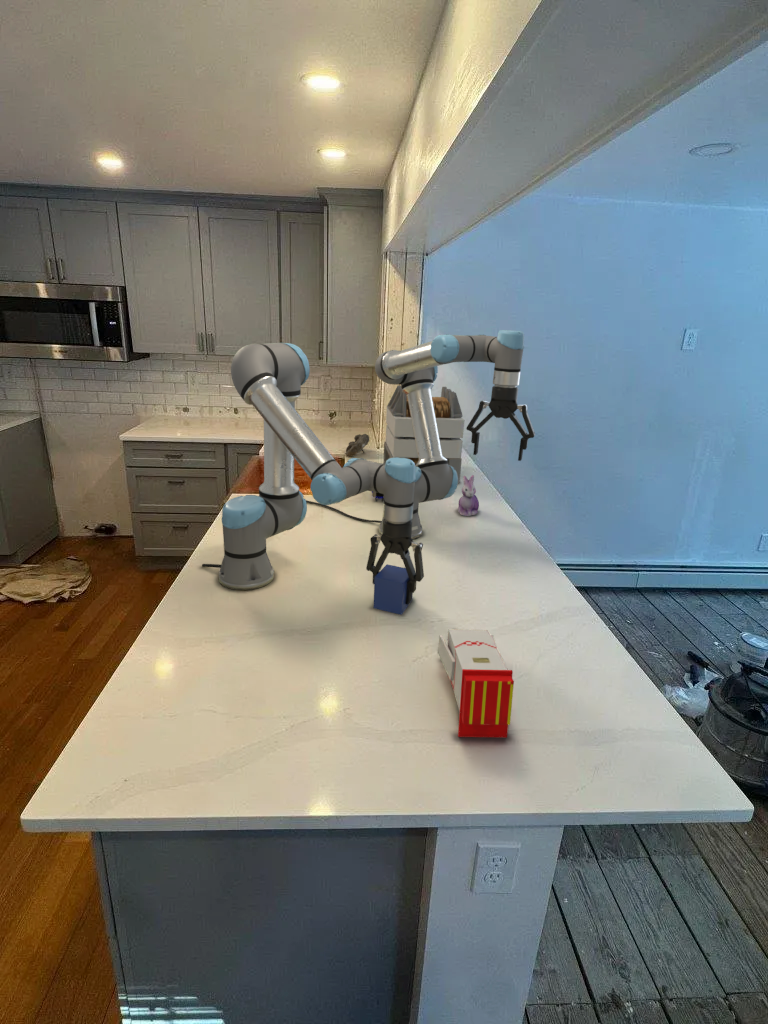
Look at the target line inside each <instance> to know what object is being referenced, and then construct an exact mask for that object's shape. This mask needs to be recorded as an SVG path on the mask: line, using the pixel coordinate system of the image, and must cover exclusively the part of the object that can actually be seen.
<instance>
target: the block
mask: <svg viewBox="0 0 768 1024" xmlns="http://www.w3.org/2000/svg"><path fill="white" fill-rule="evenodd" d="M408 580H409V577H408V574H407V571H406V568H405V567H402V566H397V565H391V564H388V563H386V564H385V565H384V566H383V567H382V568H381V569H380V570H379V573H378V574H377V575H376V576H375V580H374V584H373V585H374V586H373V604H372V605H373V607H372V608H373V609H375V610H379V611H383V612H388V613H392V614H396V615H401V616H402V615H403V614H404V612H405V611H406V609H407V608H408V607H409V605H410V604H411V603H412V602H413V599H412V600H411V602H410V603H409V605H407V604H406V591H407V581H408ZM413 595H414V593H412V598H413Z"/></svg>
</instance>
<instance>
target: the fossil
mask: <svg viewBox="0 0 768 1024" xmlns="http://www.w3.org/2000/svg"><path fill="white" fill-rule="evenodd" d="M369 443H370V436H369V434H367V433H363V434H361V433H360V434H356V435H355V436H354V441H349V442H348V445H347V447H346V449H345V455H346V457H348V458H352V457H354V456H356V455H357V454H359V453H361V452H362V454H365V451H364V448H365V447H366V446H368V444H369Z"/></svg>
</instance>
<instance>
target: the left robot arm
mask: <svg viewBox="0 0 768 1024" xmlns="http://www.w3.org/2000/svg"><path fill="white" fill-rule="evenodd" d="M310 371H311V370H310V362H309V359H308V357H307V355H306V353H304V351H303V349H301V347H299V346H298V345H297V344H294V343H288V342H270V343H269V342H267V343H250V344H247V345H244V346H243V347H242V346H241V348H240V349H238V350H237V351H236V353H235V354H234V355H233V358H232V360H231V365H230V377H231V380H232V383H233V386H234V388H235V390H236V392H237V393H238V395H239V397H240V398H241V399H242V400H243V401H244V403H245V404H246V405H249V406H250V405H251V406H253V408H254V409H255V410H256V411H257V412H258V414H259V415H260V417H262V419H263V477H264V478H263V483H261V484H260V485H259V486H258V495H255V494H246V495H239V496H236V497H233V498H231V499H229V500H228V501H226V502H225V503H224V504H223V506H222V511H221V513H222V514H221V524H222V538H223V539H222V540H223V557H222V561H221V564H218V563H217V564H216V563H202V564H201V567H202V568H218V569H219V571H218V581H219V583H220V584H221V585H222V586H223V587H224V588H228V589H231V590H236V591H237V590H238V591H249V590H255V589H259V588H263V587H265V586H267V585H269V584H270V583H271V582H272V581H273V580H274V577H275V573H274V572H275V570H274V567H273V566H272V563H271V560H270V557H269V554H268V552H267V539H269V538H271V537H274V536H276V535H278V534H281V533H284V532H286V531H290V530H293V529H294V528H295V527H297V526H300V524H301V523H303V521H304V520H305V519H306V516H307V512H308V505H307V504H308V503H307V502H306V500H307V499H306V498H304V497H305V496H304V494H303V493H302V492H301V491H300V486H299V485H297V484H296V482H295V461H296V462H297V464H299V466H300V467H301V468H302V469H303V471H304V472H305V474H306V475H307V476H308V477H309V478H310V480H311V483H310V492H311V493H312V495H311V496H312V497H313V499H314V500H315V502H316V503H320V504H322V505H327V506H330V505H335V504H338V503H339V504H340V503H341V502H343V501H344V500H347V499H349V498H352V497H355V496H357V495H359V494H362V493H365V492H371V493H372V492H376V493H381V494H384V497H383V498H384V501H383V507H382V508H383V509H382V519H383V518H384V519H383V529H382V532H383V533H382V535H378V533H377V534H376V533H375V534H373V535H372V536H371V537H370V550H369V554H368V558H367V563H366V571H368V572H371V573H372V584H373V585H374V580H375V576H376V575H377V574H378V573H379V572H380V571H381V570H382V568H383V565H384V563H385V561H386V559H387V558H388V556H389V554H395V555H397V556H400V559H401V560H402V563H403V566H404V568H406V571H407V574H408V577H409V580H408V581H407V591H406V604H407V605H408V606H409V605H410V604H411V603H412V601H413V597H412V593H413V594H414V593H415V592H416V590H417V582H419V583H420V582H421V581H423V579H424V577H425V573H424V562H423V552H422V550H423V546H424V544H423V543H422V542H419V543H418V542H416V541H414V539H412V538H411V534H412V517H413V501H414V500H413V498H414V486H415V480H416V477H415V463H414V462H413V461H412V460H410V459H407V458H390V459H388V460H387V461H386V463H385V464H383V463H381V462H377V461H373V460H368V459H366V458H359V457H358V458H357V457H350V458H349V459H347V461H346V462H345V463H344V465H343V466H341V465H340V464H339V463H338V461H337V460H336V459H335V458H334V456H333V455H332V454H331V452H330V451H329V450H328V449H327V448H326V446H325V445H324V443H322V442H321V440H320V439H319V437H318V436H317V435H316V434H315V433H314V431H313V430H312V429H311V428H310V426H309V425H308V424H307V423H306V421H305V420H304V419H303V418H302V417H301V415H300V414H299V413H298V412H297V410H296V401H297V399H298V398H300V397H301V391H302V389H301V388H302V386H303V385H304V384H305V383H306V382H307V380H308V379H309V378H310V377H309V376H310ZM380 543H381V544H382V545H383V546H384V548H383V550H382V552H381V555H380V557H379V559H378V560H377V562H376V559H377V554H378V549H379V545H380ZM410 547H411V548H412V552H413V559H414V564H413V559H412V558H411V555H410V554H411V553H410ZM375 563H376V564H375ZM411 600H412V601H411ZM410 602H411V603H410ZM409 603H410V604H409Z"/></svg>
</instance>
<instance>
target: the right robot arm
mask: <svg viewBox="0 0 768 1024" xmlns="http://www.w3.org/2000/svg"><path fill="white" fill-rule="evenodd" d="M524 349H525V333H524V332H523V331H522V330H509V329H507V330H506V329H500V330H499V331H498V332H497V336H492V335H486V334H473V335H470V334H467V335H465V334H464V335H462V334H461V335H459V334H449V333H448V334H440V335H436V336H435V337H434V338H433V339H432V341H428V342H424V343H421V344H418V345H415V346H412V347H408V348H404V349H401V350H397V349H391V350H388V351H384V352H382V353H380V355H378V356H377V358H376V360H375V363H374V371H375V374H376V376H377V377H378V379H380V380H381V381H382V382H383V383H385V384H388V385H397V386H398V385H400V386H401V388H402V392H403V393H405V394H406V395H407V398H408V403H409V409H410V414H411V420H412V425H413V431H414V436H415V442H416V447H417V453H418V459H419V461H418V463H417V464H416V466H415V477H416V480H415V486H414V498H413V500H414V501H413V517H412V534H411V538H412V540H415V539H418V538H420V537H421V536H422V535H423V525H422V524H421V518H420V515H419V507H420V506H419V505H420V503H426V502H432V501H433V502H434V501H441V500H444V499H448V498H450V497H452V496H453V495H454V494H455V492H456V491H457V488H458V484H459V483H458V476H457V472H456V470H454V468H453V467H452V466H450V465H448V460H447V459H446V458H444V457H443V456H442V451H441V446H440V440H439V435H438V429H437V424H436V418H435V413H434V407H433V402H432V397H433V396H432V391H431V390H432V389H433V387H434V385H435V384H434V383H435V381H436V379H437V377H438V373H439V367H438V366H442V365H448V364H452V363H478V362H479V363H491V364H494V367H493V378H492V384H493V386H492V388H491V395H490V401H486V400H485V399H482V400H481V401H479V405H478V408H477V410H476V412H475V413H474V415H473V417H472V418H471V420H470V422H469V423H468V424H467V426H466V428H465V429H466V430H467V431H469V432H471V441H470V442H471V444H473V453H472V454H473V456H477V455H478V452H479V445H480V444H479V443H480V436H481V435H480V433H481V432H478V431H479V430H480V429H481V428H482V427H484V425H485V424H486V423H488V421H490V420H491V419H492V418H493V417H495V418H496V419H500V418H501V419H505V420H507V419H510V421H511V422H512V423H513V425H514V427H516V429H517V431H518V432H519V434H520V436H522V437H521V438H520V442H519V450H518V458H517V461H519V462H521V461H522V460H523V453H524V451H525V450H527V448H528V445H529V439H534V437H535V436H536V433H535V429H534V427H533V423H532V421H531V418H530V415H529V413H528V404H526V403H524V404H518V397H519V388H518V386H520V380H521V379H520V378H521V369H522V361H523V356H524V355H523V354H524ZM486 408H489V409H490V412H489V413H488V414H486V416H485V417H484V418H483V419H482V420H481V421H480V422H479V423H478V424H477V425H476V426H474V425H475V424H476V423H477V421H478V419H479V417H480V416H481V415H482V413H483V411H484V409H486ZM517 410H518V411H519V412H520V413H521V415H522V418H523V421H524V423H525V427H526V429H527V430H526V429H525V427H524V426H523V424H522V423H521V421H520V420H519V418H518V417H517V416H518V415H516V411H517ZM305 500H306V503H307V504H312V505H316V506H319V507H320V506H321V507H323V508H327V509H330V510H332V511H335V512H337V513H339V514H341V515H343V516H345V517H348V518H349V519H350V518H351V519H353V520H357V521H361V522H366V523H377V524H379V526H378V533H379V534H380V536H382V533H383V532H382V529H383V519H384V518H383V517H382V519H381V520H377V519H376V520H375V519H373V520H372V519H365V518H361V517H357V516H354V515H350V514H348V513H346V512H343V511H341V510H340V509H337V508H334V507H332V506H330V505H322V504H320V503H318V502H317V501H311V500H307V499H305Z"/></svg>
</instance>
